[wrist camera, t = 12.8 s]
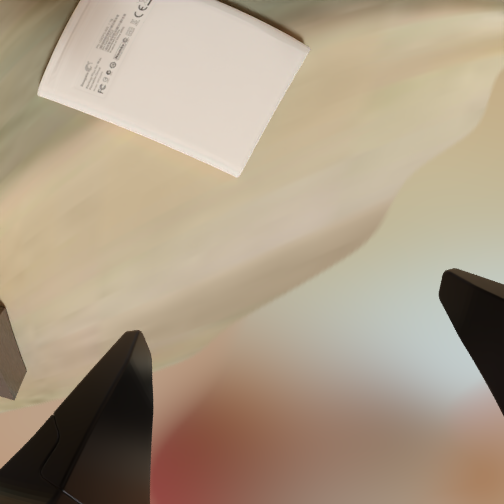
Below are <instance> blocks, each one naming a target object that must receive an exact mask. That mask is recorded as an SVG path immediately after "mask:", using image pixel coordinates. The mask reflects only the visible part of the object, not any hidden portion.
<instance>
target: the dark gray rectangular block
mask: <svg viewBox="0 0 504 504" xmlns="http://www.w3.org/2000/svg"><path fill="white" fill-rule="evenodd" d="M26 372H27V371H26V368H25V366H24V363H23V361H22V358H21V355H20V352H19V350H18V347H17V344H16V341H15V338H14V335H13V332H12V329H11V325H10V322H9V319H8V315H7V312H6V308H4V307H0V396H1V397H5V398H8V399H11V400H15V398H16V395H17V393H18V390H19V388H20V386H21V383H22V381H23V379H24V376H25V374H26Z"/></svg>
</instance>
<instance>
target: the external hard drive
mask: <svg viewBox="0 0 504 504" xmlns="http://www.w3.org/2000/svg"><path fill="white" fill-rule="evenodd" d="M310 50H311V49H310V47H309V46H307V45H305V44H303V43H302V42H300V41H298V40H296V39H295V38H293V37H291V36H290V35H288V34H286V33H284V32H282V31H280V30H278V29H276V28H275V27H273V26H271V25H269V24H267V23H265V22H263V21H261V20H259V19H257V18H255V17H253V16H251V15H249V14H246V13H244V12H242V11H240V10H238V9H236V8H233V7H231V6H229V5H226V4H224V3H222V2H219V1H217V0H80V1H79V3H78V5H77V7H76V8H75V10H74V12H73V14H72V16H71V18H70V19H69V21H68V23H67V25H66V27H65V29H64V31H63V33H62V35H61V37H60V39H59V41H58V43H57V45H56V47H55V50H54V52H53V54H52V56H51V58H50V61H49V63H48V65H47V68H46V70H45V72H44V75H43V77H42V80H41V82H40V85H39V88H38V93H37V95H38V96H41V97H44V98H47V99H50V100H53V101H56V102H58V103H61V104H63V105H66V106H69V107H71V108H74V109H77V110H79V111H82V112H84V113H87V114H90V115H92V116H95V117H97V118H100V119H102V120H105V121H108V122H110V123H113V124H115V125H117V126H120V127H123V128H125V129H127V130H130V131H133V132H135V133H137V134H139V135H142V136H144V137H147V138H149V139H152V140H154V141H156V142H159V143H161V144H163V145H166V146H168V147H170V148H172V149H175V150H177V151H179V152H182V153H184V154H186V155H188V156H191V157H193V158H195V159H197V160H200V161H202V162H204V163H207V164H209V165H211V166H213V167H215V168H217V169H220V170H222V171H224V172H226V173H228V174H231V175H233V176H235V177H239V176H240V174H241V172H242V171H243V169H244V167H245V165H246V163H247V161H248V159H249V158H250V156H251V154H252V152H253V150H254V148H255V147H256V145H257V143H258V141H259V139H260V137H261V135H262V134H263V132H264V130H265V128H266V126H267V125H268V123H269V121H270V119H271V117H272V116H273V114H274V112H275V110H276V108H277V107H278V105H279V103H280V101H281V100H282V98H283V96H284V94H285V93H286V91H287V89H288V87H289V86H290V84H291V82H292V81H293V79H294V77H295V75H296V74H297V72H298V70H299V69H300V67H301V65H302V63H303V62H304V60H305V58H306V56H307V54H308V53H309V51H310Z"/></svg>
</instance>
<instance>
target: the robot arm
mask: <svg viewBox="0 0 504 504" xmlns="http://www.w3.org/2000/svg"><path fill="white" fill-rule="evenodd" d="M439 299H440V301H441V303H442V305H443V307H444V309H445V311H446V312H447V314H448V316H449V318H450V320H451V322H452V324H453V326H454V328H455V330H456V332H457V334H458V336H459V337H460V339H461V341H462V343H463V344H464V346H465V347H466V349H467V351H468V352H469V354H470V356H471V357H472V359H473V360H474V362H475V364H476V366H477V368H478V369H479V371H480V373H481V374H482V376H483V378H484V380H485V381H486V383H487V385H488V387H489V389H490V391H491V393H492V394H493V396H494V398H495V400H496V402H497V404H498V406H499V408H500V410H501V412H502V414H503V415H504V284H501V283H498V282H495V281H492V280H489V279H486V278H483V277H480V276H477V275H474V274H471V273H468V272H465V271H462V270H459V269H455V268H453V269H449V270H446V271H445V272H444V273H443V276H442V281H441V285H440V290H439ZM152 423H153V385H152V358H151V353H150V350H149V348H148V345H147V343H146V341H145V338H144V336H143V333H142V332H141V331H140V330H134V331H127V332H125V333H124V334H123V335H122V336H121V338H120V339H119V340H118V341H117V342H116V343H115V344H114V345H113V346H112V347H111V349H110V350H109V351H108V352H107V353H106V354H105V355H104V356H103V357H102V358H101V360H100V361H99V362H98V363H97V364H96V365H95V366H94V367H93V368H92V370H91V371H90V372H89V373H88V374H87V375H86V376H85V377H84V379H83V380H82V381H81V382H80V383H79V384H78V385H77V387H76V388H75V389H74V390H73V391H72V392H71V393H70V395H69V396H68V397H67V398H66V399H65V400H64V401H63V403H62V404H61V405H60V406H59V407H58V409H57V410H56V411H55V412H54V415H51V416H50V418H49V419H48V420H47V421H46V422H45V423H44V425H43V426H42V427H41V428H40V429H39V430H38V431H37V432H36V434H35V435H34V436H33V437H32V438H31V439H30V440H29V441H28V442H27V443H26V444H25V445H24V446H23V447H22V448H21V449H20V450H19V451H18V452H17V453H16V454H15V455H14V456H13V457H12V458H11V459H10V460H9V461H8V462H7V463H6V464H5V465H4V466H3V467H2V468H1V469H0V504H150V464H151V441H152Z"/></svg>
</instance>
